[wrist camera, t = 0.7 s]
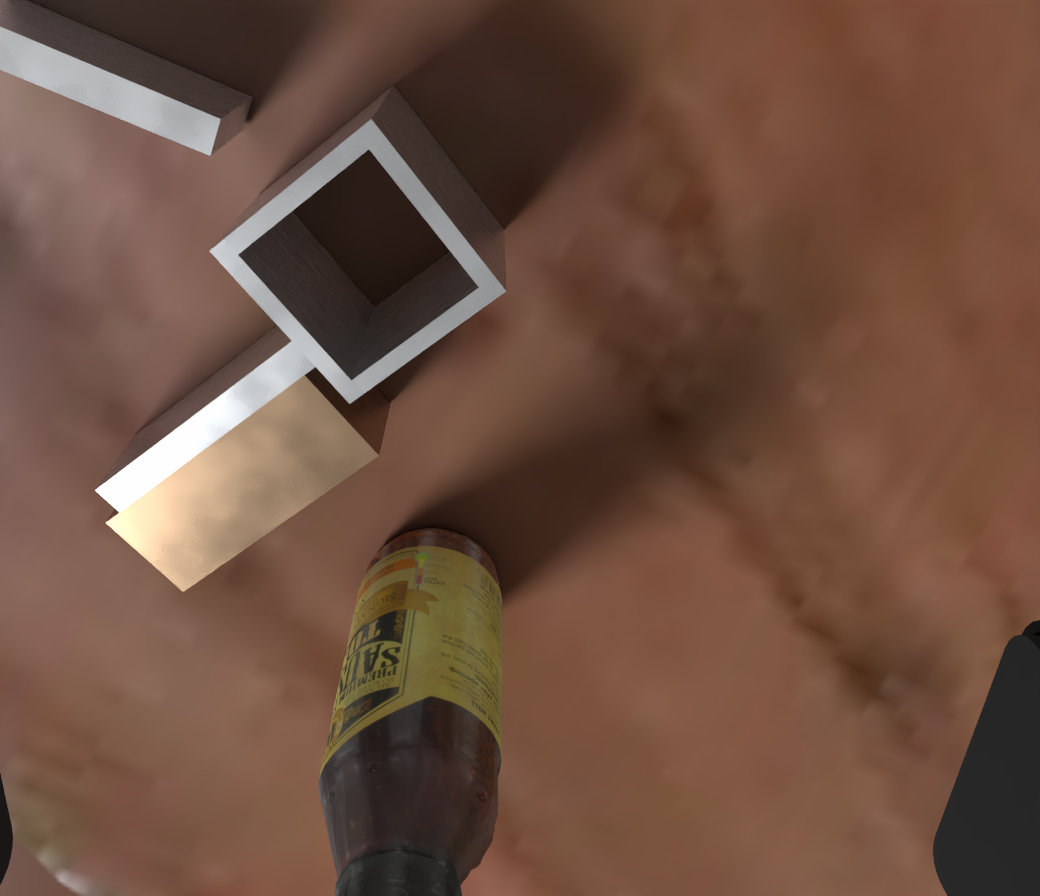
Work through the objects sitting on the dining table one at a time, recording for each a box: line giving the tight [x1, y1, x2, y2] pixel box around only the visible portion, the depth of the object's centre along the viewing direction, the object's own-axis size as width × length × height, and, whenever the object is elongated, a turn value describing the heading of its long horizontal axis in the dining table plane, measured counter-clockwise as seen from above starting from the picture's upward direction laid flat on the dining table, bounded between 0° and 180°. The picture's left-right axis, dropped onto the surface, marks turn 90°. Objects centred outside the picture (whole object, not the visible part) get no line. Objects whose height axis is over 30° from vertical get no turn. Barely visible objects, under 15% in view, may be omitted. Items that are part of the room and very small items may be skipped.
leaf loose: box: [0, 0, 253, 156], centre depth 32 cm, size 8×1×4 cm, turn 67°
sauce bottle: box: [319, 528, 503, 896], centre depth 35 cm, size 6×6×20 cm
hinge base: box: [95, 85, 506, 592], centre depth 35 cm, size 18×9×7 cm, turn 127°
